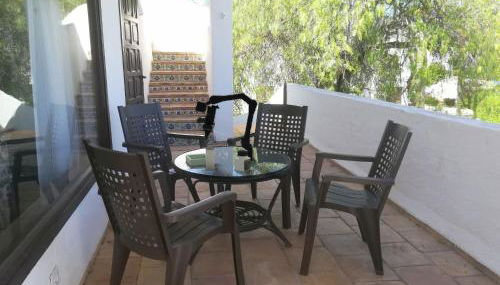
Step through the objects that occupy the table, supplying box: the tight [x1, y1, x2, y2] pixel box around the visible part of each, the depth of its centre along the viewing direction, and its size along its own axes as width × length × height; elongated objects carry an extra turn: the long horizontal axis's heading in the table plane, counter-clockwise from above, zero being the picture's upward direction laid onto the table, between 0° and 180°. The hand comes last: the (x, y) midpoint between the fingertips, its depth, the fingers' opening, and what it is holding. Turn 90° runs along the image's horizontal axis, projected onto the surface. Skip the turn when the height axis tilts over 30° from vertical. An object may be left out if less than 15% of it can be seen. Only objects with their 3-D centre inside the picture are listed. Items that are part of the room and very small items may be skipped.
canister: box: [204, 146, 215, 171], centre depth 232 cm, size 5×5×13 cm
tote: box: [185, 152, 206, 168], centre depth 245 cm, size 15×13×4 cm
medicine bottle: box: [233, 148, 252, 173], centre depth 231 cm, size 7×7×12 cm
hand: (206, 137), depth 255 cm, fingers open, 9 cm apart
